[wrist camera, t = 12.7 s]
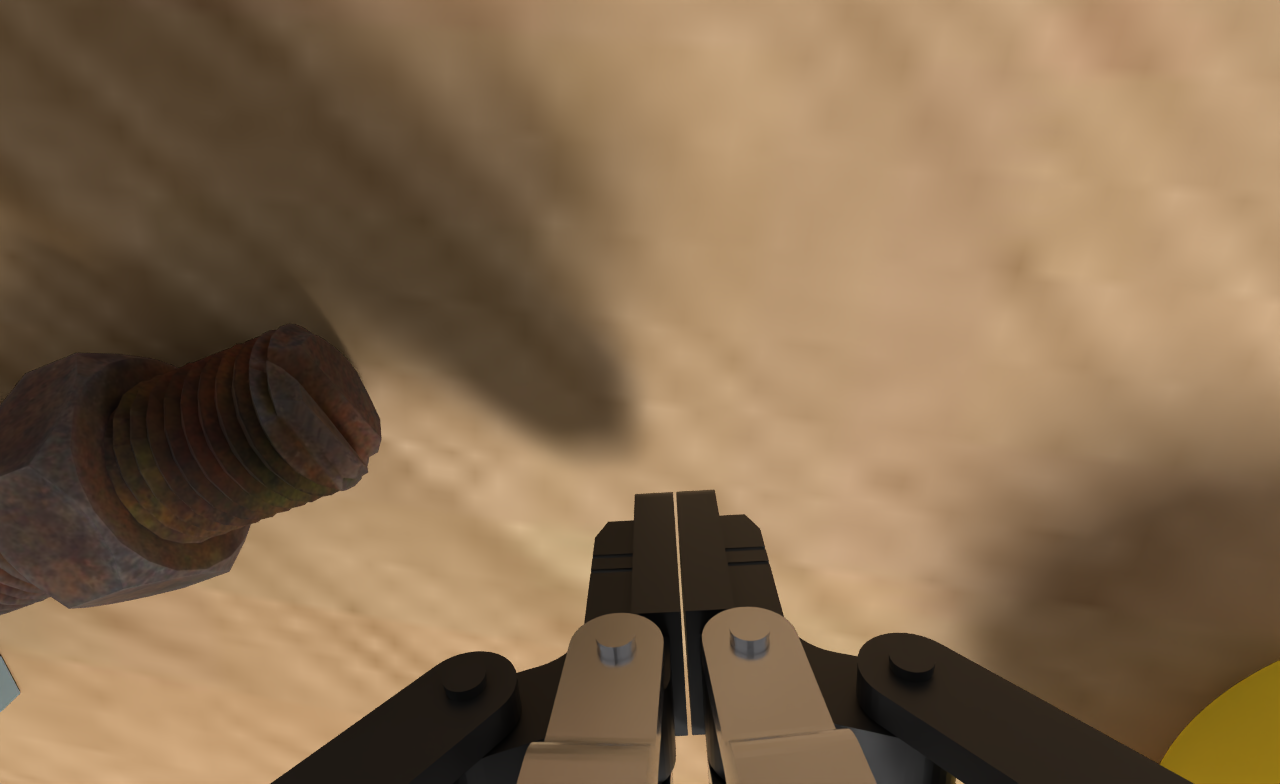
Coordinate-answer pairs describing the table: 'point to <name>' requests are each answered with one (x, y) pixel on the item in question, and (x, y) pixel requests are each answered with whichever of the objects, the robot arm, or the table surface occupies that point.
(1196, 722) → the yellow hollow cylinder
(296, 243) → the table surface
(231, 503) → the bolt
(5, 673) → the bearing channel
